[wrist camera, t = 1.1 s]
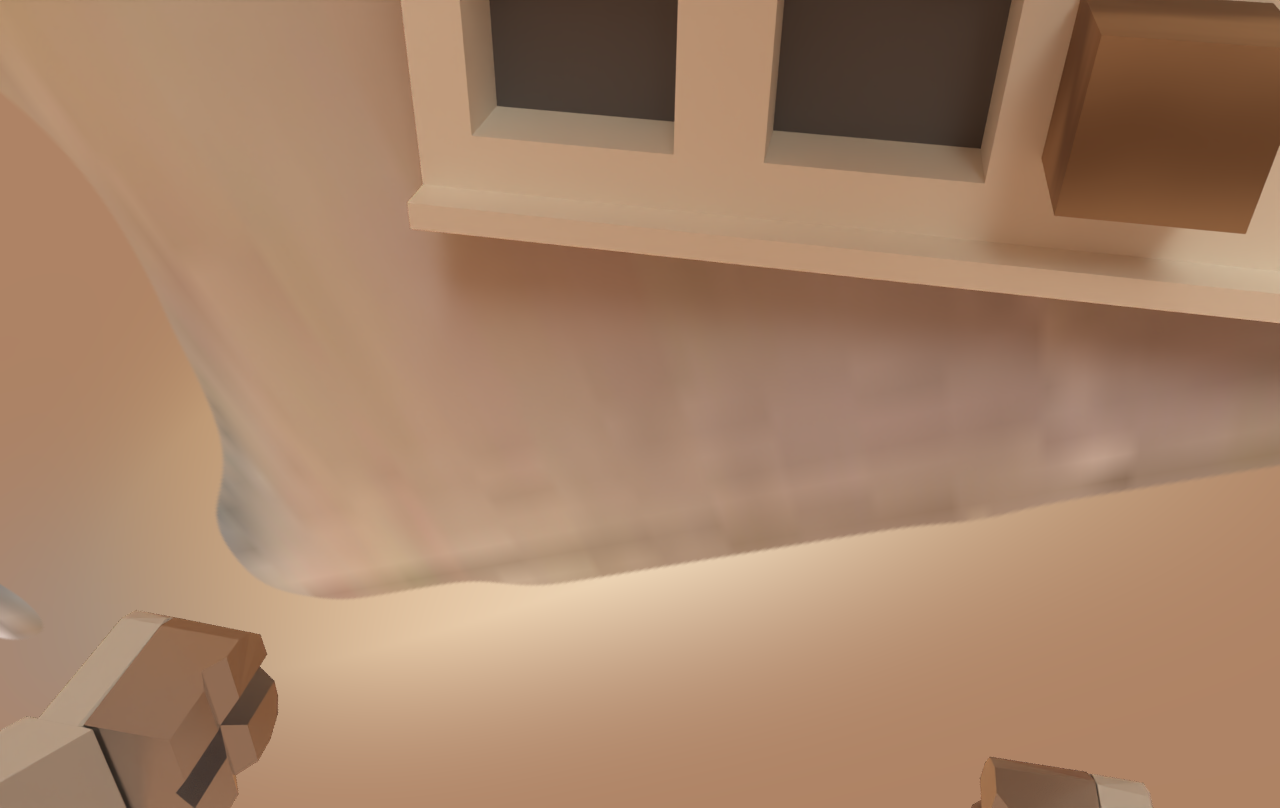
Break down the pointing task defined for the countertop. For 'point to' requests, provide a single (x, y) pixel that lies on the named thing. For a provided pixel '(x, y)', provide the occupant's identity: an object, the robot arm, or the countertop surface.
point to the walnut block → (1166, 113)
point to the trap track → (794, 145)
